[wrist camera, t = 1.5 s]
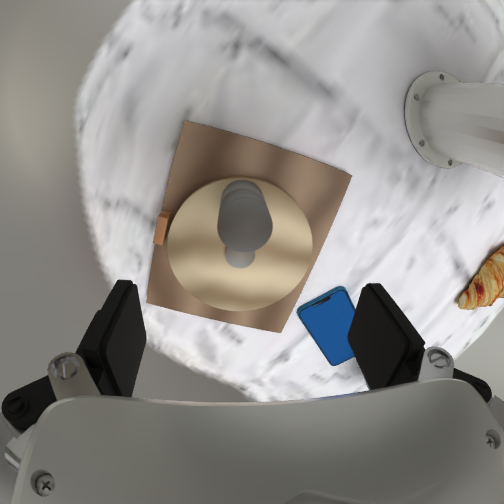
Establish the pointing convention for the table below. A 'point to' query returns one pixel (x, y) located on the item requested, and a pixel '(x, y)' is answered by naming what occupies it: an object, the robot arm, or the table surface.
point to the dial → (239, 243)
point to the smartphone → (330, 323)
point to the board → (253, 165)
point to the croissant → (485, 284)
